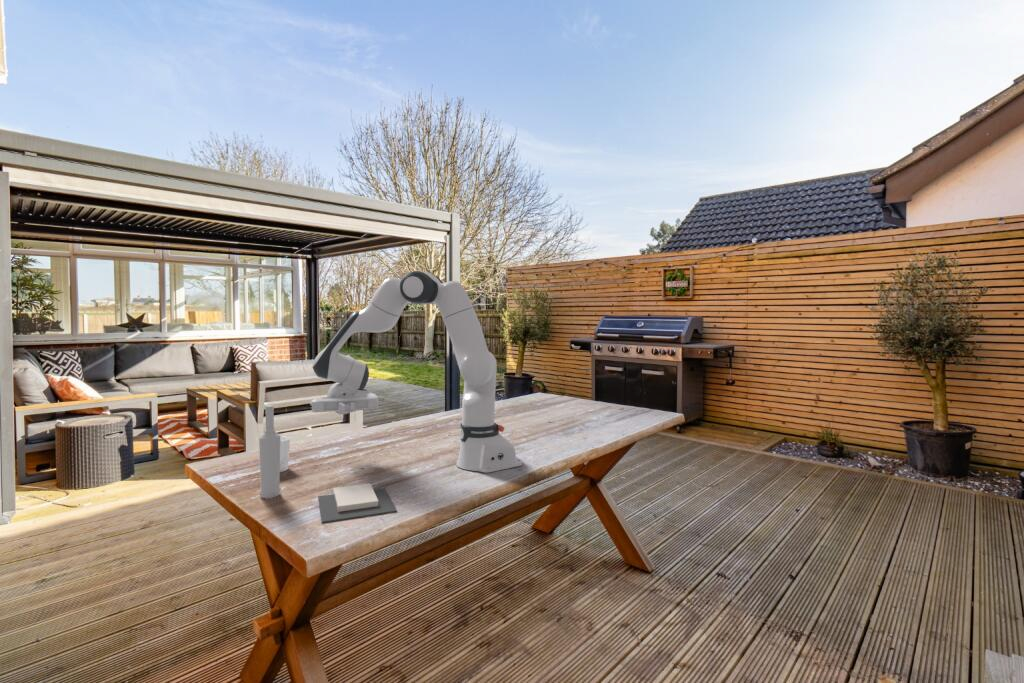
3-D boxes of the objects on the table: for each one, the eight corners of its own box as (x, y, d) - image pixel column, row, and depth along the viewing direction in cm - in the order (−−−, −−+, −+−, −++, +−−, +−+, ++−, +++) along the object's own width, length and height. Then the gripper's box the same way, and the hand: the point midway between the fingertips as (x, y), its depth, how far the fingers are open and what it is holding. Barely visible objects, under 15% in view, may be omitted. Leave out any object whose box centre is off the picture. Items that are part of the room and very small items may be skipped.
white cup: (260, 474, 149) (259, 443, 148) (265, 466, 156) (265, 436, 156) (287, 473, 151) (287, 441, 150) (292, 465, 158) (291, 435, 158)
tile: (370, 483, 138) (378, 500, 125) (370, 488, 138) (378, 506, 125) (333, 487, 133) (337, 506, 121) (333, 493, 134) (337, 512, 121)
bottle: (275, 490, 136) (274, 403, 134) (284, 495, 132) (283, 405, 131) (256, 495, 132) (255, 405, 130) (264, 500, 128) (264, 408, 127)
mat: (384, 488, 139) (384, 487, 139) (396, 511, 123) (396, 510, 123) (318, 497, 131) (318, 496, 131) (321, 523, 115) (321, 521, 115)
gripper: (309, 392, 154) (311, 399, 142) (374, 389, 163) (381, 396, 150) (309, 411, 154) (311, 420, 142) (374, 407, 163) (381, 415, 151)
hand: (348, 408), depth 146 cm, fingers closed
